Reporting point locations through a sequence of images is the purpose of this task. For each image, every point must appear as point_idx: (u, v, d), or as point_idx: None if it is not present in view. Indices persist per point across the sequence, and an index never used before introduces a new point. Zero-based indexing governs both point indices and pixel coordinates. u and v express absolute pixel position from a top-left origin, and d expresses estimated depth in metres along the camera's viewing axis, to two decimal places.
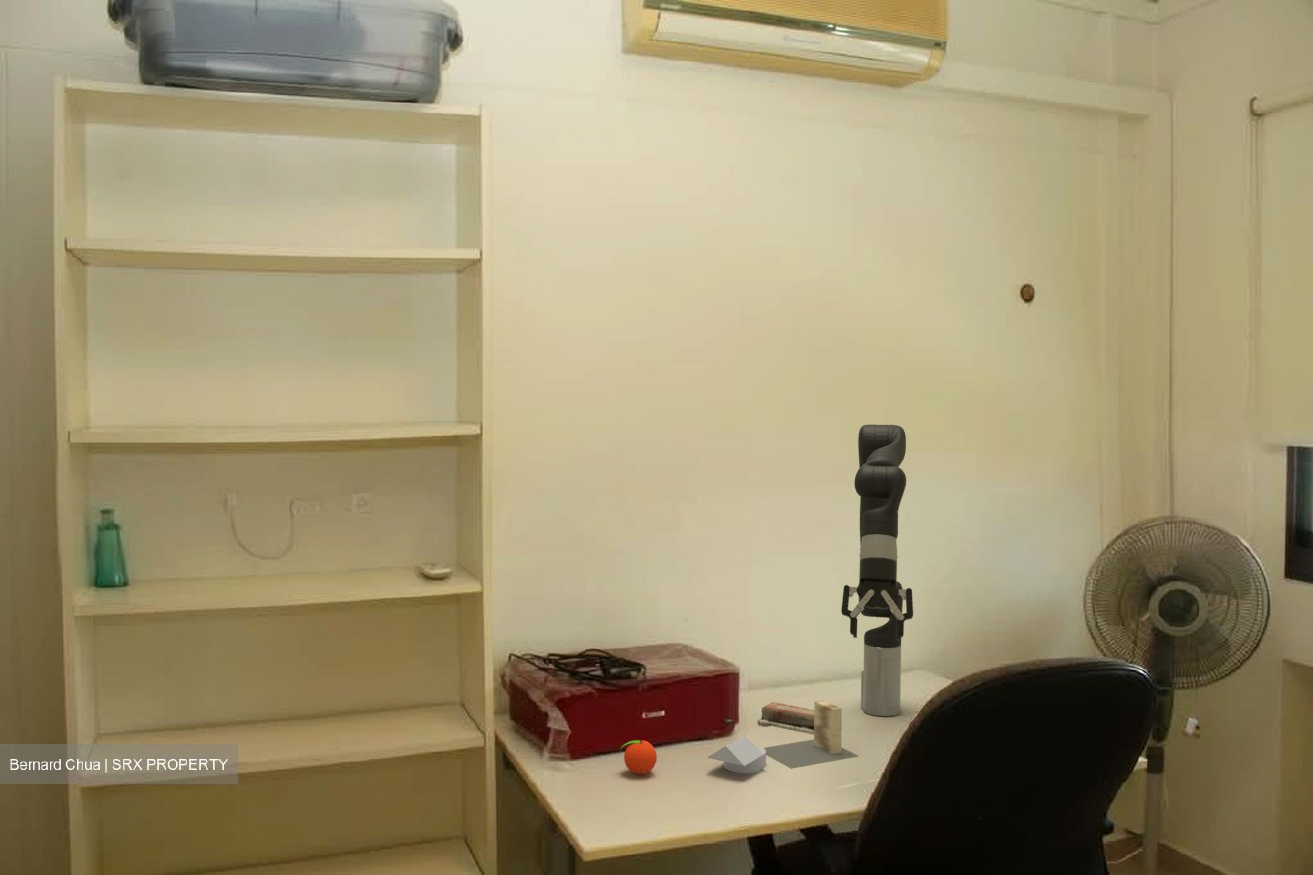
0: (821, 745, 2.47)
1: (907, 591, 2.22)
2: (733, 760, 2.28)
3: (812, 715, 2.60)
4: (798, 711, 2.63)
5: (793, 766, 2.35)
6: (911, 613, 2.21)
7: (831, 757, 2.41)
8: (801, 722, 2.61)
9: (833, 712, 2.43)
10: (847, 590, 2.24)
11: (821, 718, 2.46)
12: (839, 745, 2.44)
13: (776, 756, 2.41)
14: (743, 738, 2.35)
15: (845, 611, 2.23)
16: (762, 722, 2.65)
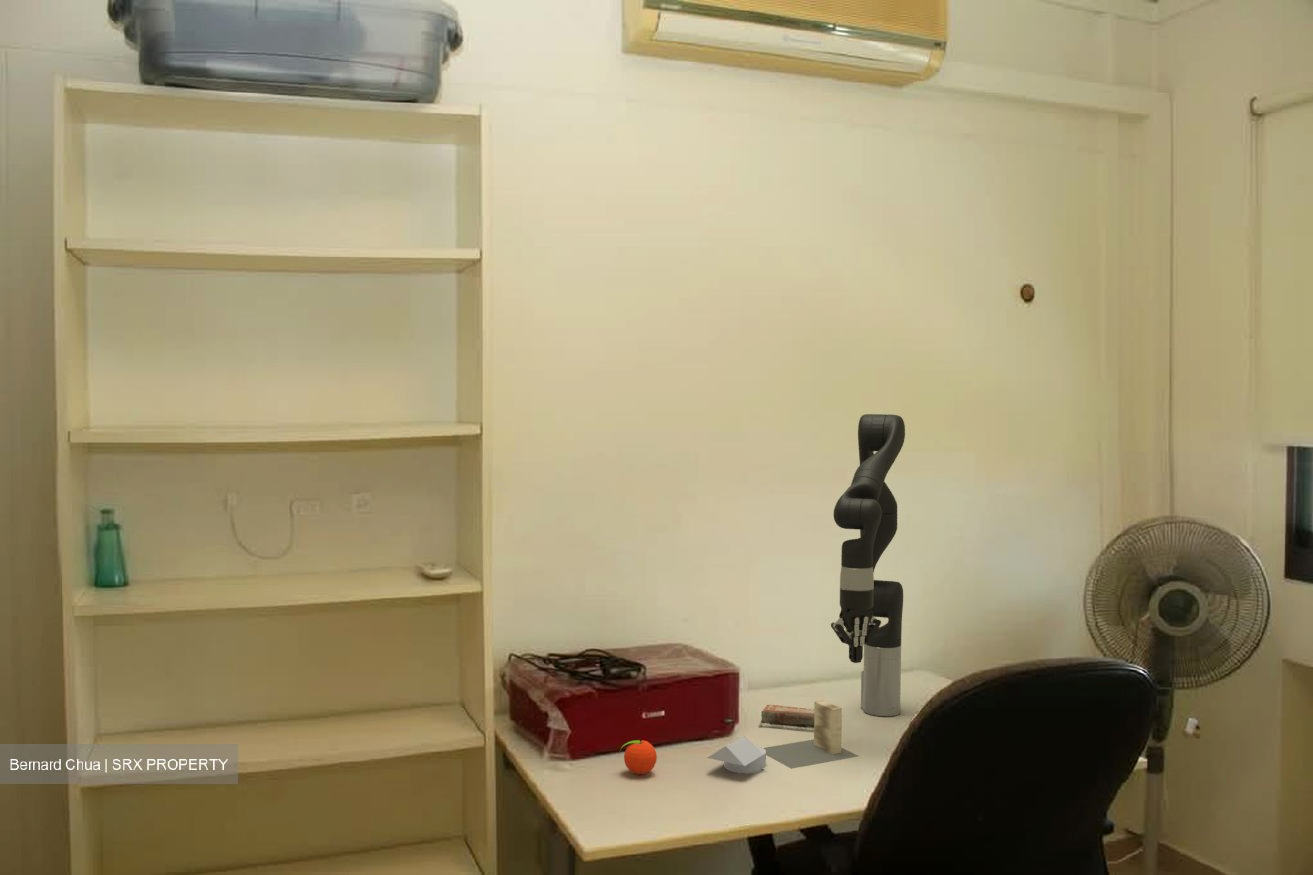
0: (821, 745, 2.47)
1: (878, 622, 2.50)
2: (733, 760, 2.28)
3: None
4: (801, 711, 2.63)
5: (793, 766, 2.35)
6: (869, 639, 2.49)
7: (831, 757, 2.41)
8: (805, 722, 2.61)
9: (833, 712, 2.43)
10: (841, 628, 2.46)
11: (821, 718, 2.46)
12: (839, 745, 2.44)
13: (776, 756, 2.41)
14: (743, 738, 2.35)
15: (850, 642, 2.47)
16: (765, 725, 2.62)
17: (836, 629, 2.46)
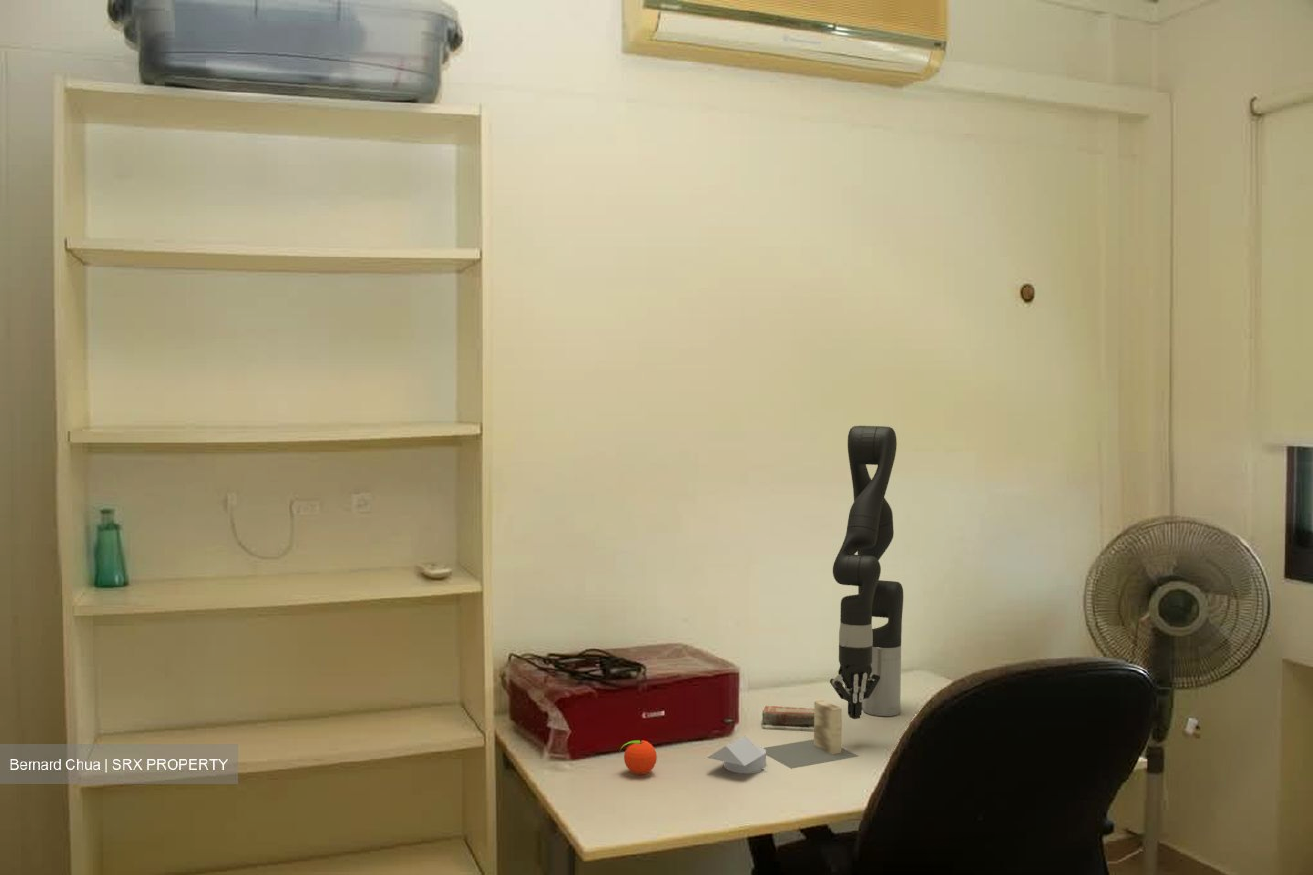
0: (821, 745, 2.47)
1: (877, 677, 2.51)
2: (734, 760, 2.28)
3: None
4: (802, 711, 2.63)
5: (793, 766, 2.35)
6: (868, 694, 2.50)
7: (831, 757, 2.41)
8: (807, 721, 2.61)
9: (833, 712, 2.43)
10: (840, 684, 2.46)
11: (821, 718, 2.46)
12: (839, 745, 2.44)
13: (776, 756, 2.41)
14: (743, 738, 2.35)
15: (849, 699, 2.47)
16: (768, 727, 2.61)
17: (835, 686, 2.46)
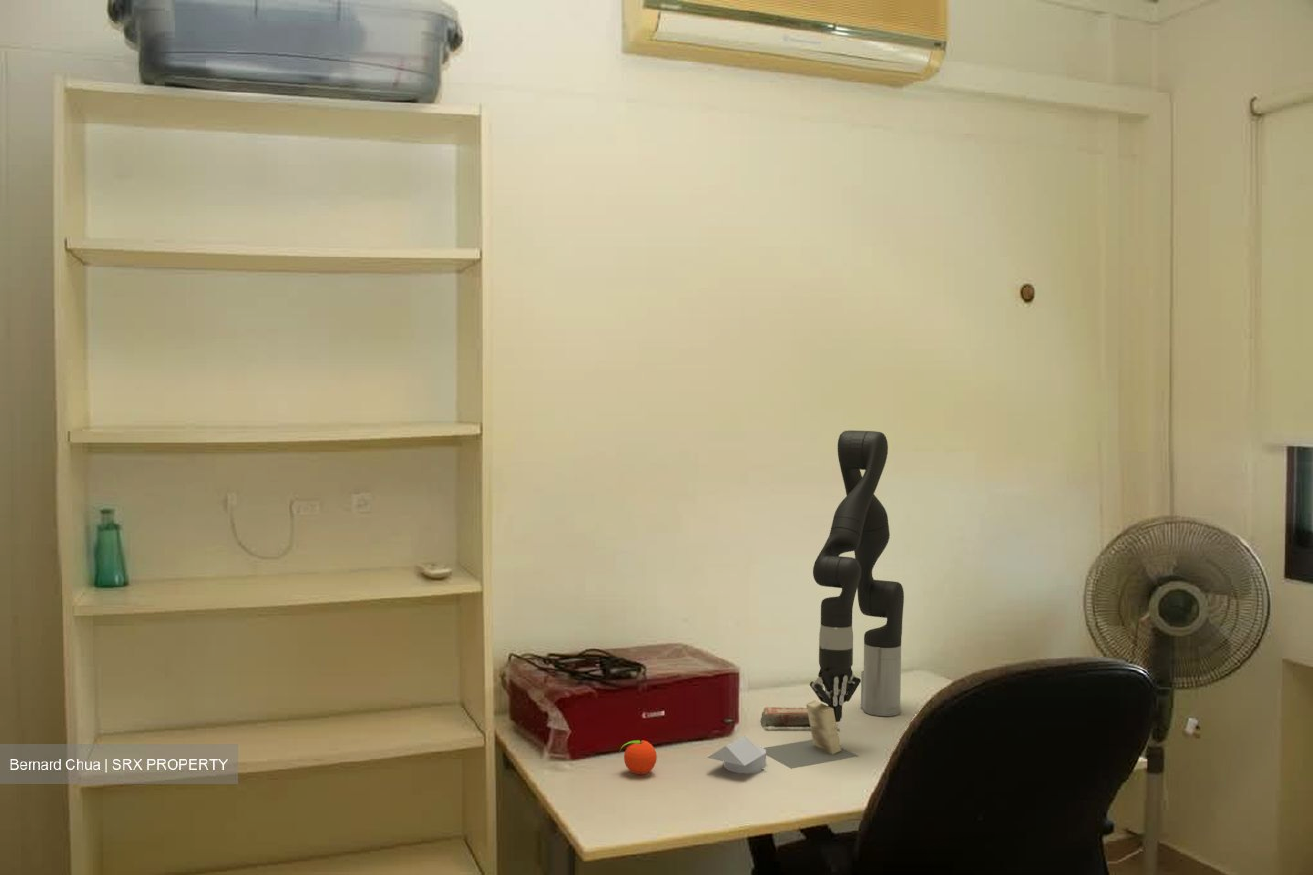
0: (820, 745, 2.46)
1: (857, 680, 2.48)
2: (733, 760, 2.28)
3: None
4: (803, 711, 2.63)
5: (793, 766, 2.35)
6: (848, 697, 2.47)
7: (831, 757, 2.41)
8: None
9: (825, 714, 2.42)
10: (820, 687, 2.43)
11: (815, 719, 2.46)
12: (837, 744, 2.44)
13: (776, 756, 2.41)
14: (743, 738, 2.35)
15: (829, 702, 2.44)
16: (771, 729, 2.60)
17: (815, 688, 2.43)
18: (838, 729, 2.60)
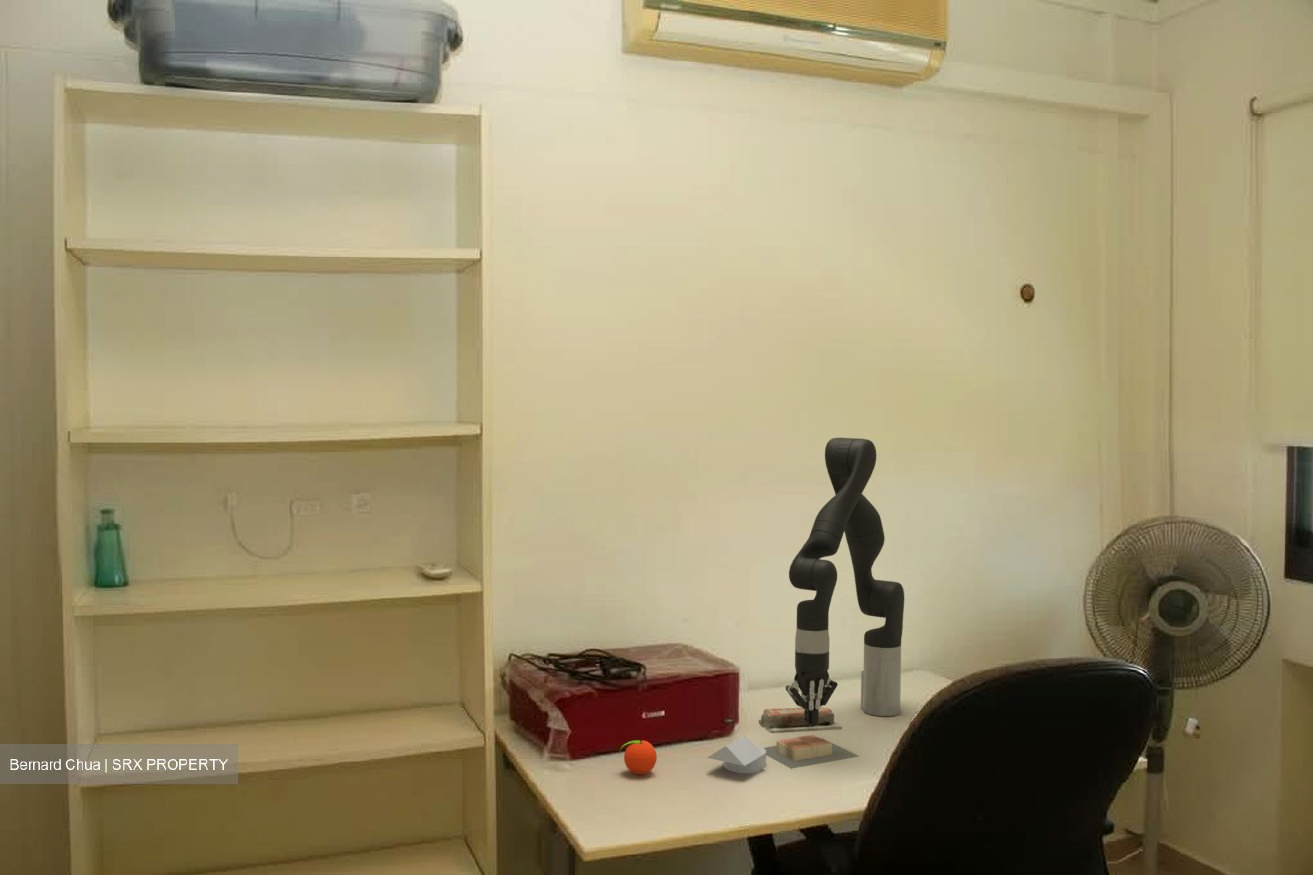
0: None
1: (834, 684, 2.45)
2: (734, 760, 2.28)
3: (822, 712, 2.63)
4: None
5: (793, 766, 2.35)
6: (825, 701, 2.44)
7: (831, 757, 2.41)
8: None
9: (796, 760, 2.39)
10: (795, 691, 2.41)
11: None
12: (825, 746, 2.42)
13: (776, 756, 2.41)
14: (743, 738, 2.35)
15: (805, 706, 2.42)
16: (777, 730, 2.58)
17: (791, 693, 2.41)
18: (840, 727, 2.61)
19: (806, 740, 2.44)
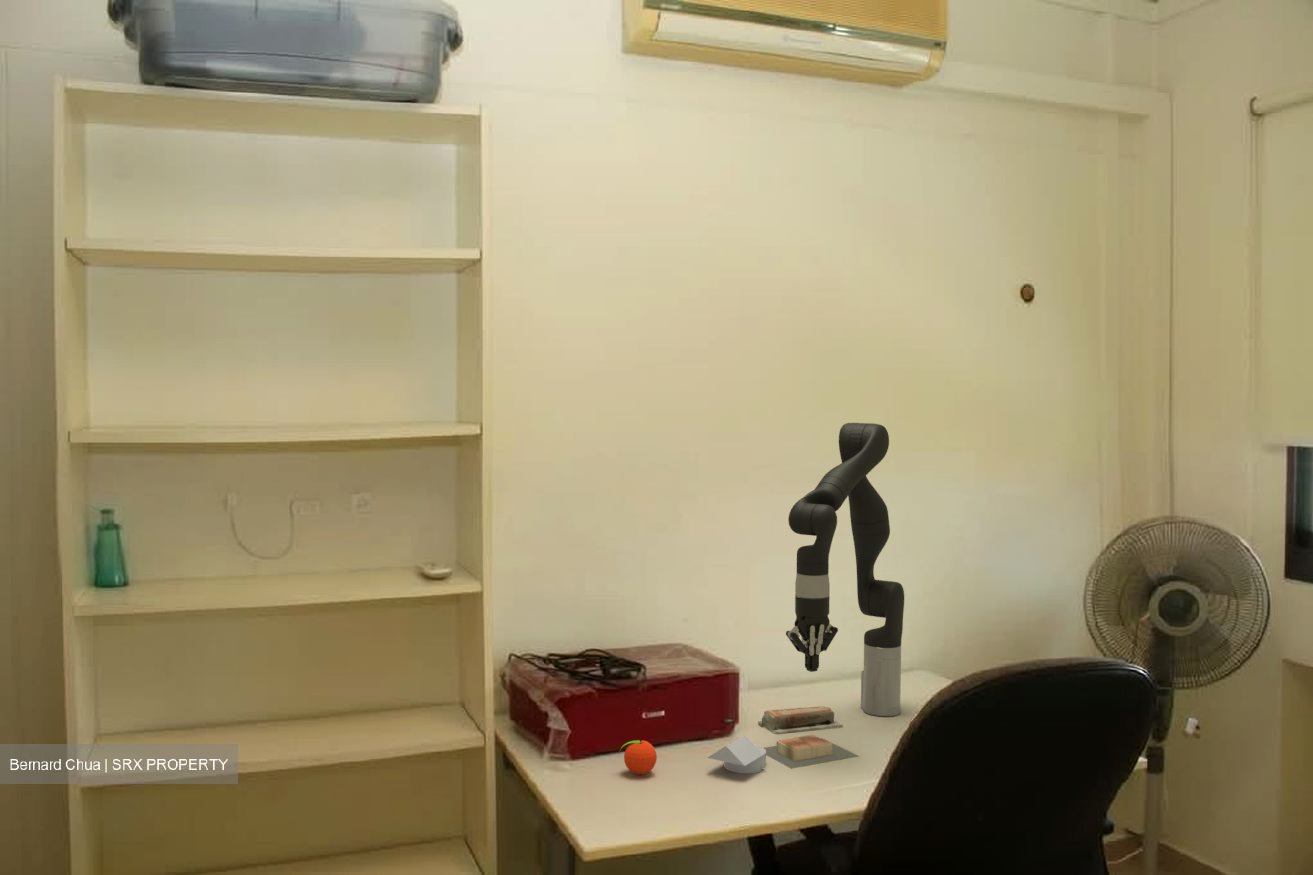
0: None
1: (834, 629, 2.45)
2: (734, 760, 2.28)
3: (823, 711, 2.63)
4: (806, 711, 2.63)
5: (793, 766, 2.35)
6: (825, 647, 2.44)
7: (831, 757, 2.41)
8: (813, 720, 2.62)
9: (796, 760, 2.39)
10: (796, 636, 2.40)
11: None
12: (825, 746, 2.42)
13: (776, 756, 2.41)
14: (743, 738, 2.35)
15: (806, 651, 2.41)
16: (781, 732, 2.57)
17: (791, 638, 2.40)
18: (841, 725, 2.63)
19: (806, 740, 2.44)
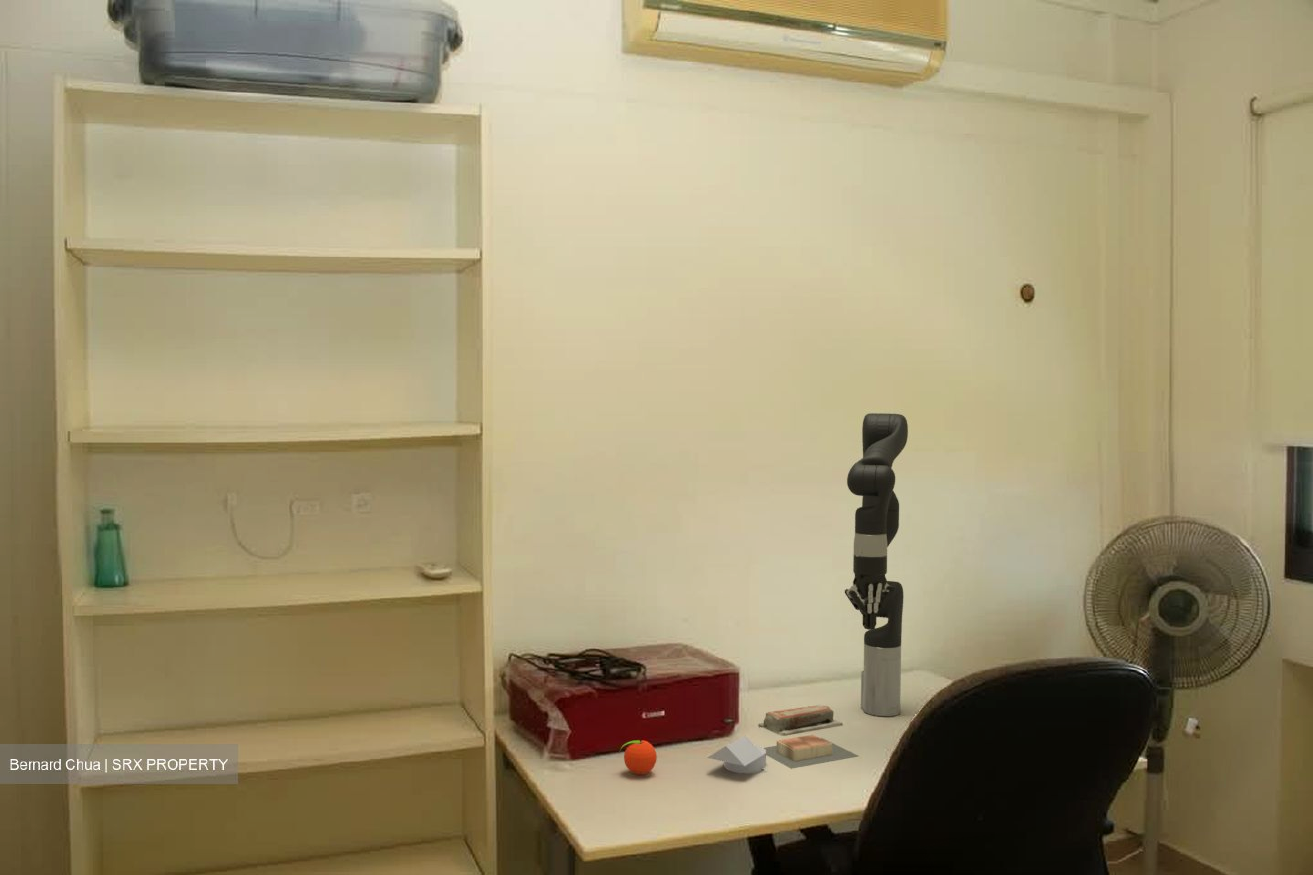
0: None
1: (891, 589, 2.50)
2: (734, 760, 2.28)
3: (823, 710, 2.64)
4: (807, 711, 2.63)
5: (793, 766, 2.35)
6: (883, 605, 2.49)
7: (831, 757, 2.41)
8: (815, 720, 2.63)
9: (796, 760, 2.39)
10: (855, 594, 2.46)
11: None
12: (825, 746, 2.42)
13: (776, 756, 2.41)
14: (743, 738, 2.35)
15: (864, 609, 2.47)
16: (788, 733, 2.57)
17: (850, 595, 2.46)
18: (841, 723, 2.64)
19: (806, 740, 2.44)
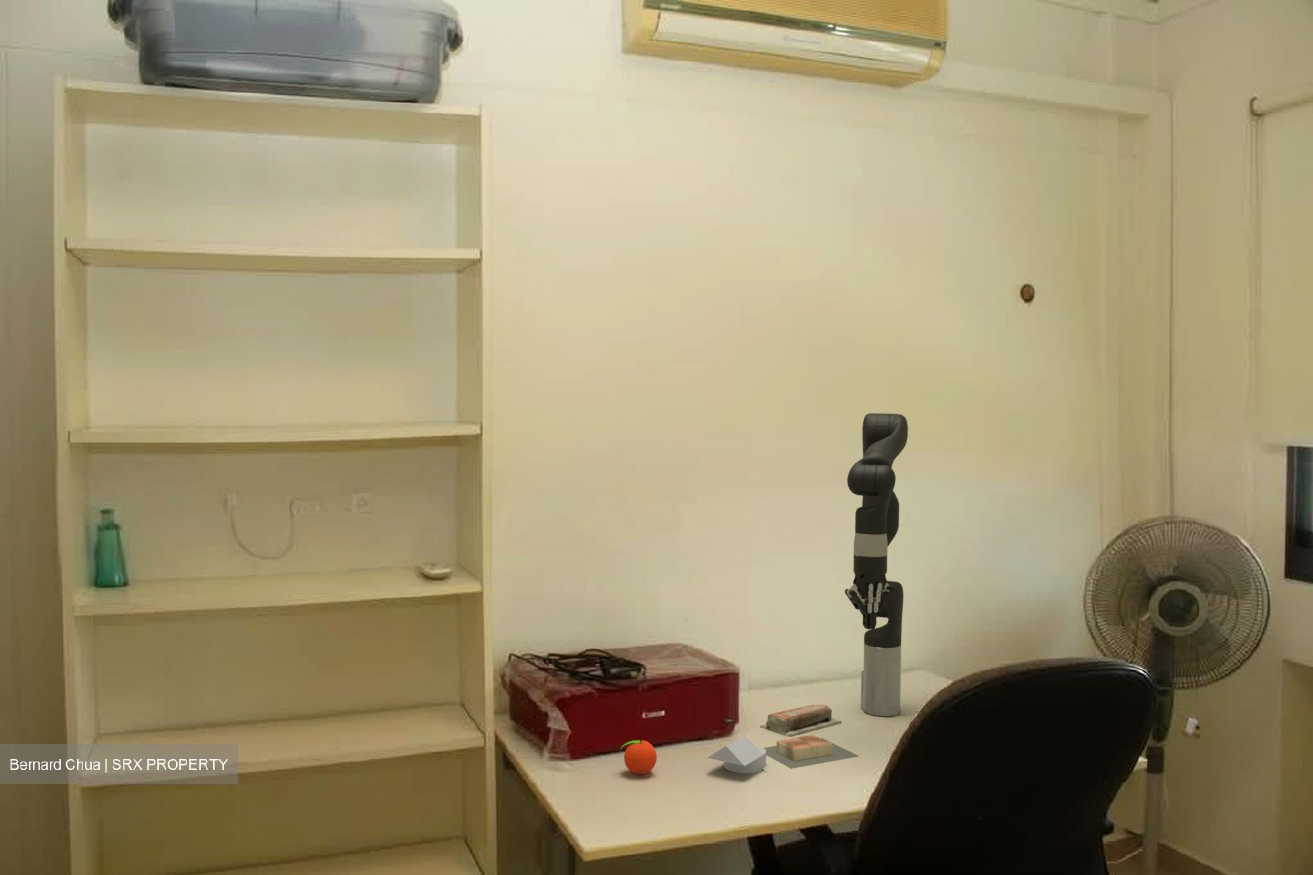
0: None
1: (891, 588, 2.50)
2: (734, 760, 2.28)
3: (822, 709, 2.65)
4: (808, 711, 2.63)
5: (793, 766, 2.35)
6: (883, 605, 2.49)
7: (831, 757, 2.41)
8: (815, 719, 2.63)
9: (796, 760, 2.39)
10: (855, 594, 2.46)
11: None
12: (825, 746, 2.42)
13: (776, 756, 2.41)
14: (743, 738, 2.35)
15: (864, 608, 2.47)
16: (794, 733, 2.56)
17: (850, 595, 2.46)
18: (840, 721, 2.66)
19: (806, 740, 2.44)
